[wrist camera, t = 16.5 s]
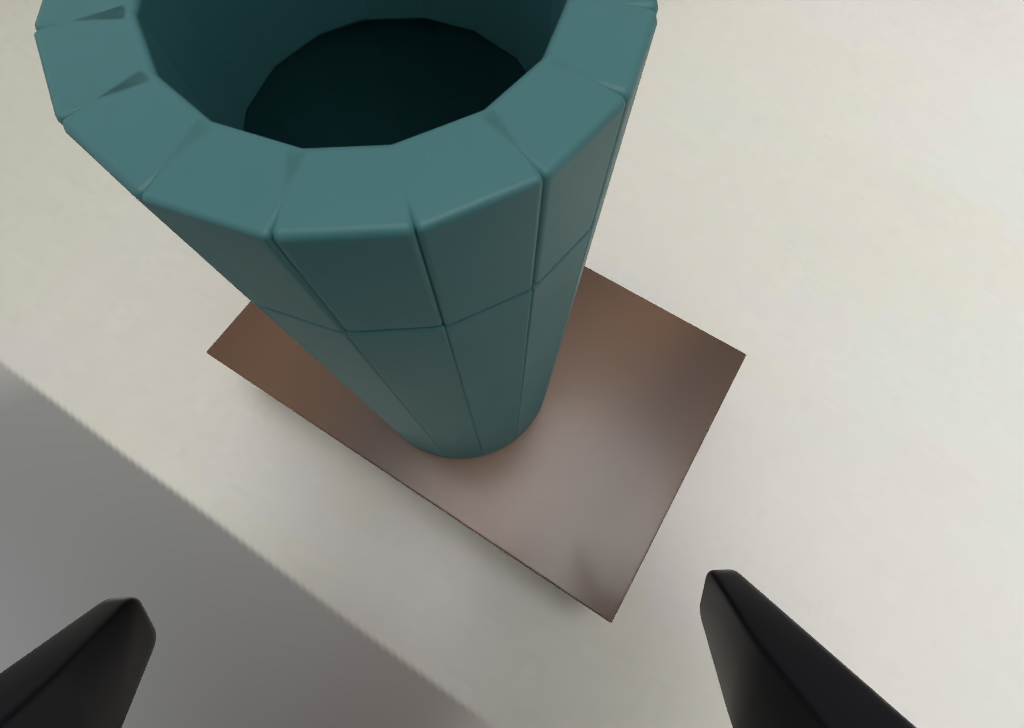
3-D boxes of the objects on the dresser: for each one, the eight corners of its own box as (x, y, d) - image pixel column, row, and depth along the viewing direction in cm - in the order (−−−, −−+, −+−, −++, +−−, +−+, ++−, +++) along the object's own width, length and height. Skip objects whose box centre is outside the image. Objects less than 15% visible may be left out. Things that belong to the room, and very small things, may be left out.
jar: (555, 453, 16) (709, 216, 4) (376, 464, 16) (-44, 253, 4) (540, 293, 18) (614, -211, 6) (379, 301, 18) (103, -199, 6)
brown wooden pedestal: (704, 385, 21) (747, 354, 17) (590, 604, 19) (611, 623, 15) (399, 213, 24) (379, 153, 20) (259, 383, 21) (205, 352, 17)
